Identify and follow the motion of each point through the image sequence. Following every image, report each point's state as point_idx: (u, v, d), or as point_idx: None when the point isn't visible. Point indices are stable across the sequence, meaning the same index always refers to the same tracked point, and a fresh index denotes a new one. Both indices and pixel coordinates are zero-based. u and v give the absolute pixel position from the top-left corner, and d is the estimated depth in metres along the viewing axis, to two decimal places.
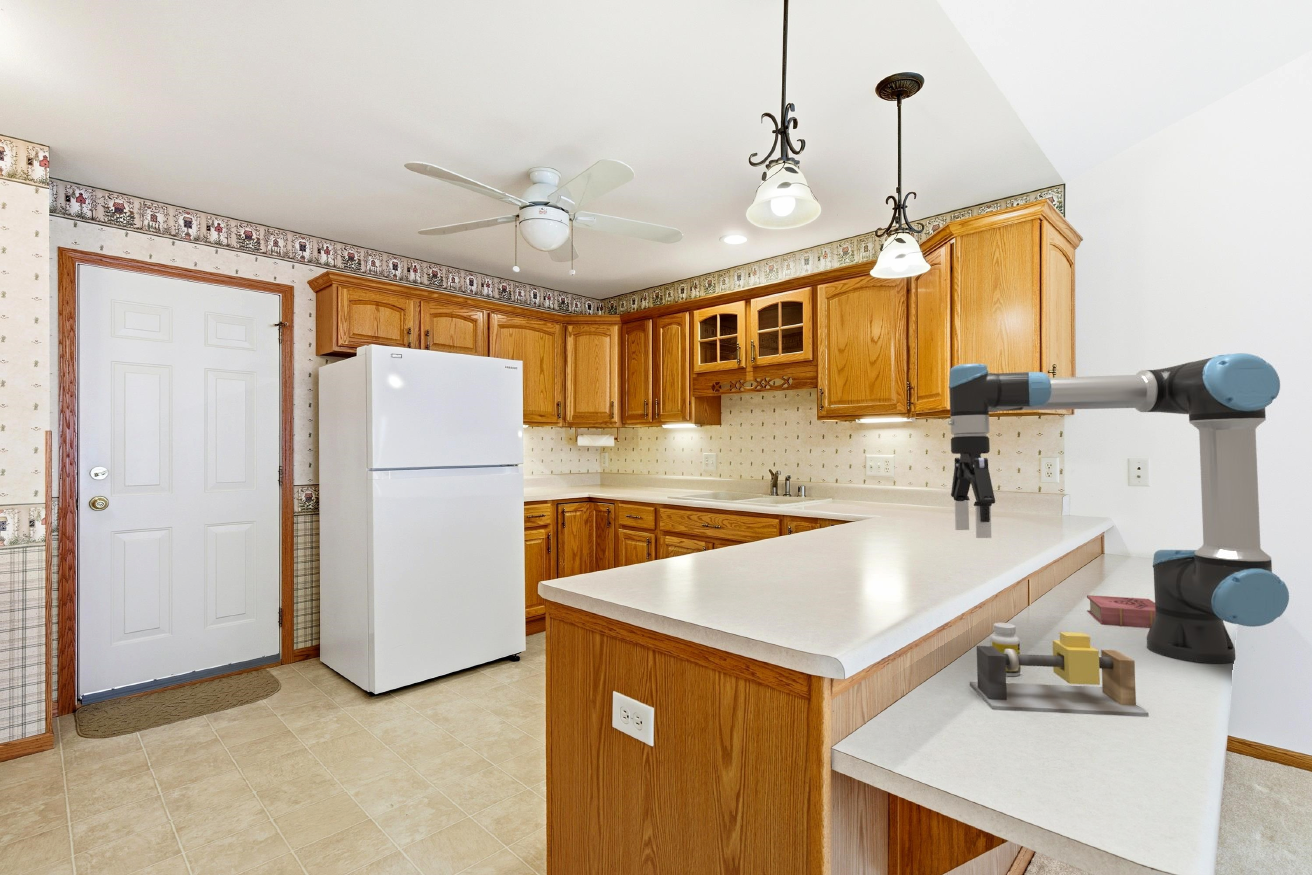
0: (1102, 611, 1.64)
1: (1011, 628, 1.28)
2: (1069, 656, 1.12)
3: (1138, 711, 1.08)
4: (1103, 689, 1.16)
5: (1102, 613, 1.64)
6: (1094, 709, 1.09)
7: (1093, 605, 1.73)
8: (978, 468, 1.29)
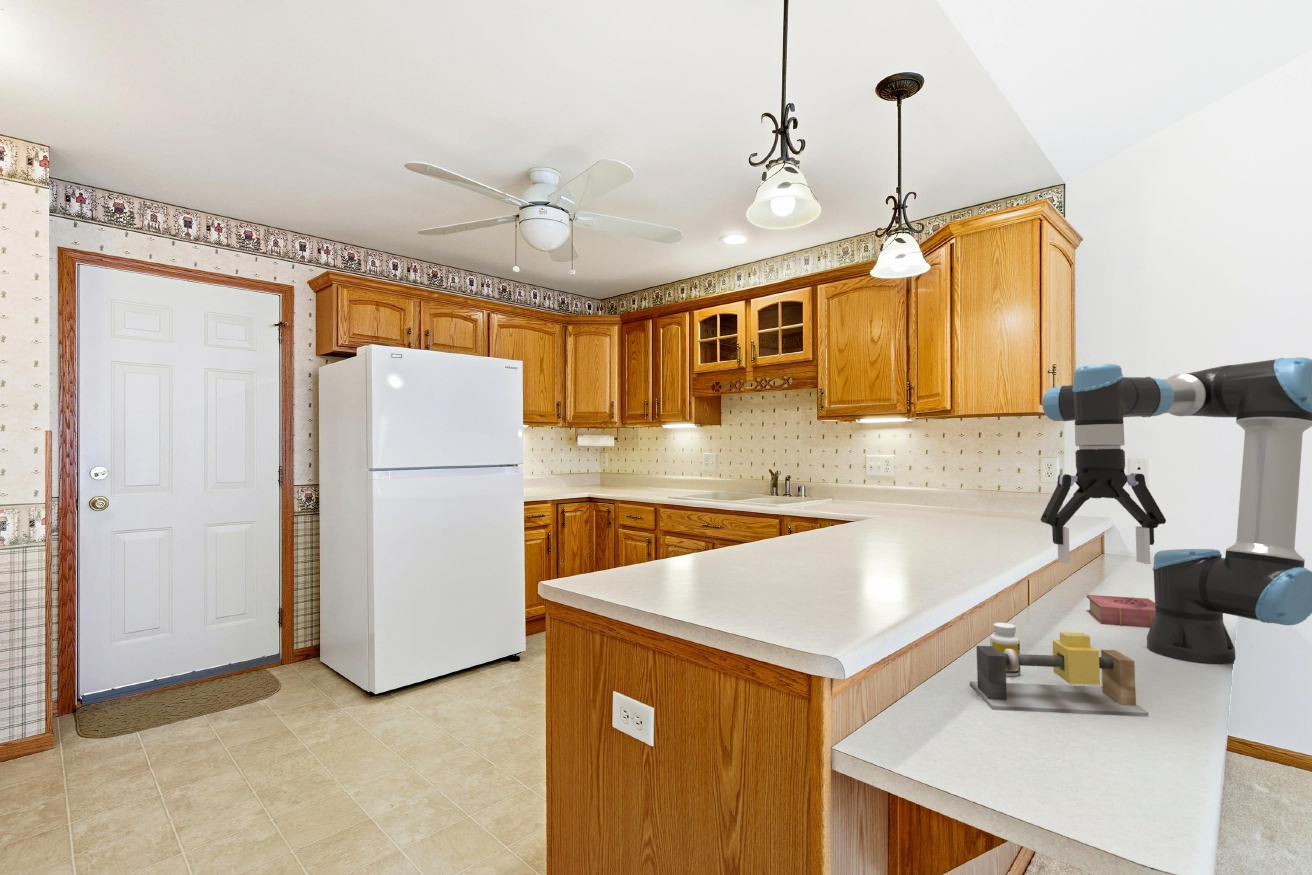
0: (1102, 610, 1.64)
1: (1011, 628, 1.28)
2: (1069, 656, 1.12)
3: (1138, 711, 1.08)
4: (1103, 689, 1.16)
5: (1102, 612, 1.64)
6: (1094, 709, 1.09)
7: (1093, 605, 1.74)
8: (1058, 485, 1.18)
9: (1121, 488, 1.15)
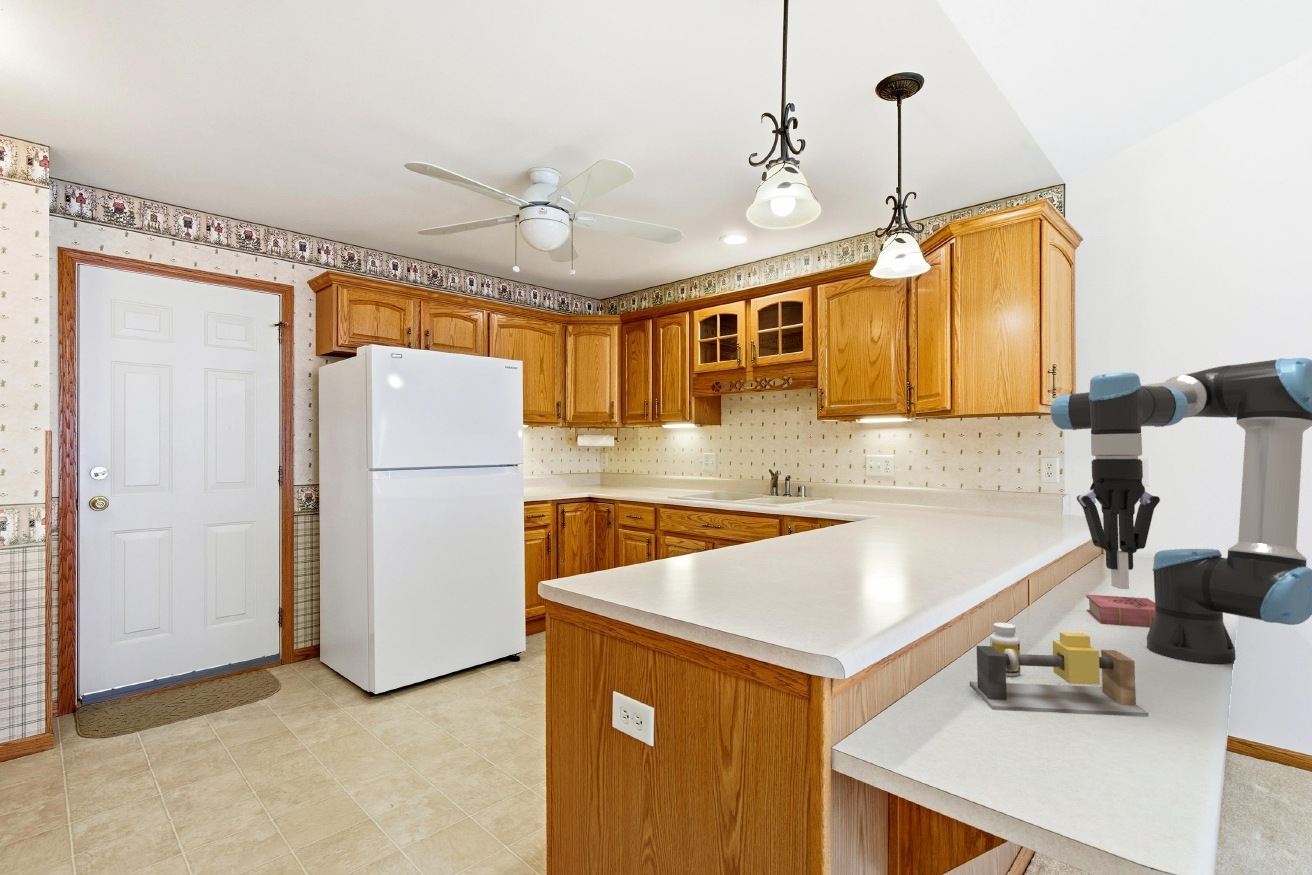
0: (1101, 610, 1.65)
1: (1011, 628, 1.28)
2: (1069, 656, 1.12)
3: (1138, 711, 1.08)
4: (1103, 689, 1.16)
5: (1101, 612, 1.65)
6: (1094, 709, 1.09)
7: (1092, 604, 1.74)
8: (1083, 507, 1.16)
9: (1132, 502, 1.13)
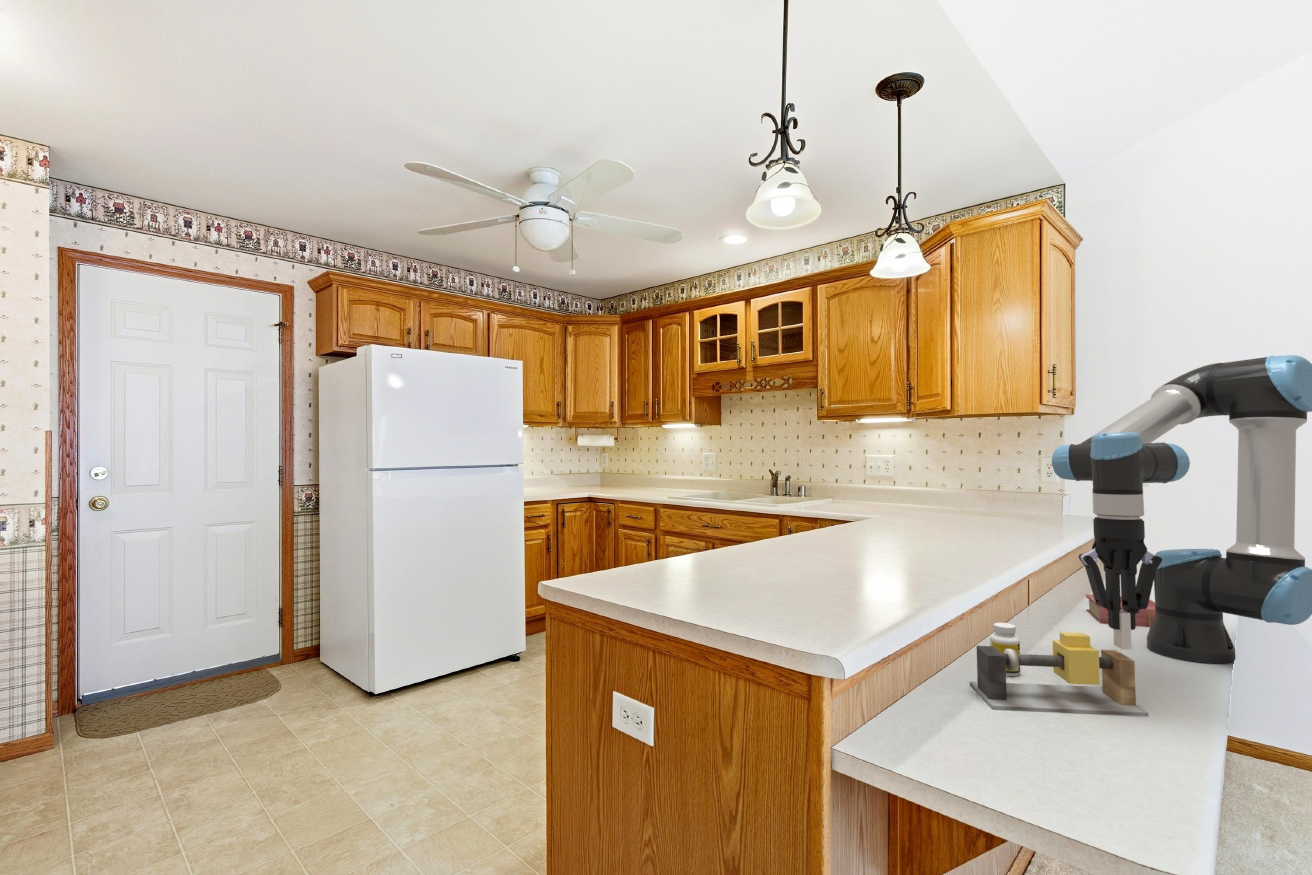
0: (1101, 610, 1.65)
1: (1011, 628, 1.28)
2: (1069, 656, 1.12)
3: (1138, 711, 1.08)
4: (1103, 689, 1.16)
5: (1101, 612, 1.65)
6: (1094, 709, 1.09)
7: (1092, 604, 1.74)
8: (1085, 566, 1.16)
9: (1134, 563, 1.12)
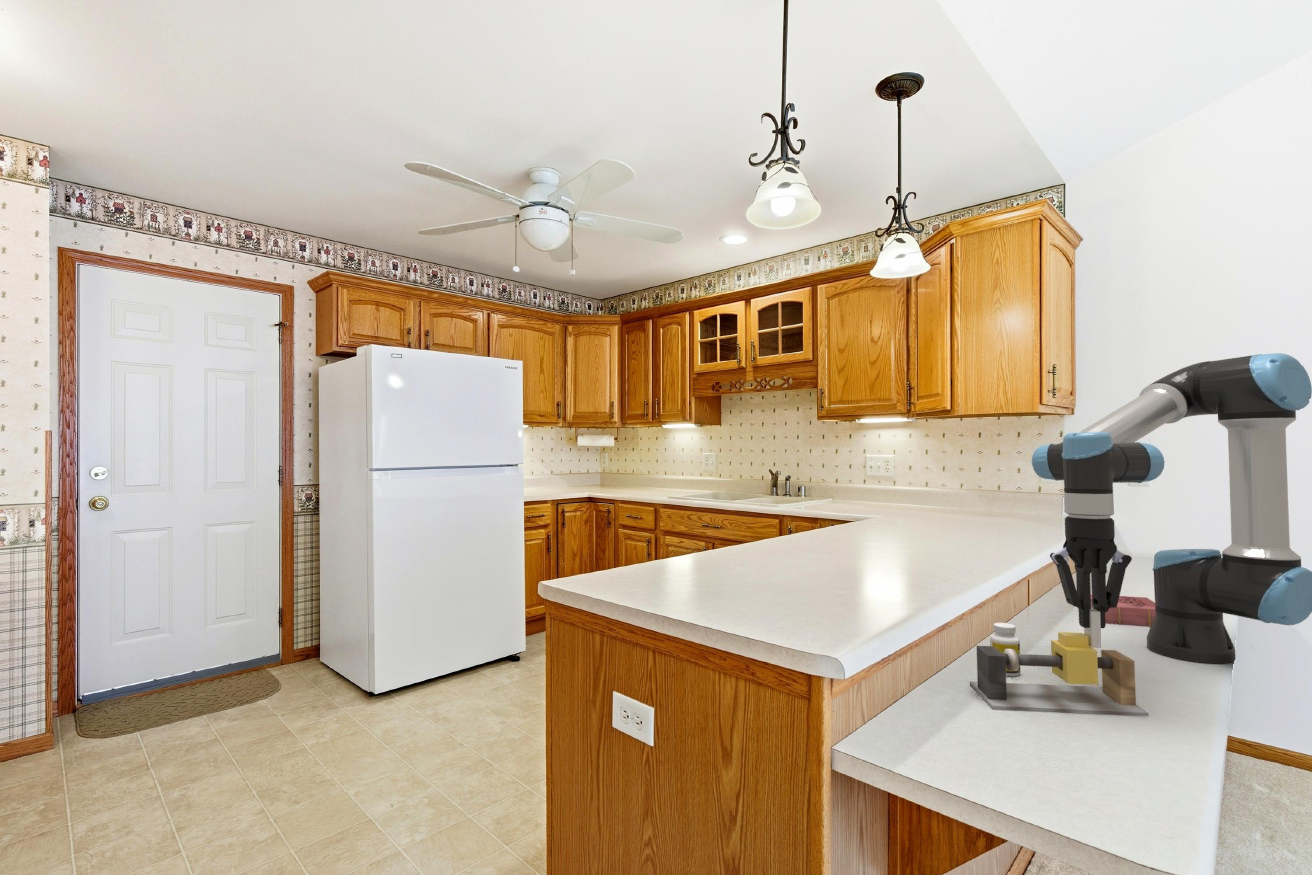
0: None
1: (1011, 628, 1.28)
2: (1067, 656, 1.12)
3: (1138, 711, 1.08)
4: (1103, 689, 1.16)
5: None
6: (1094, 709, 1.09)
7: None
8: (1057, 565, 1.16)
9: (1104, 561, 1.13)
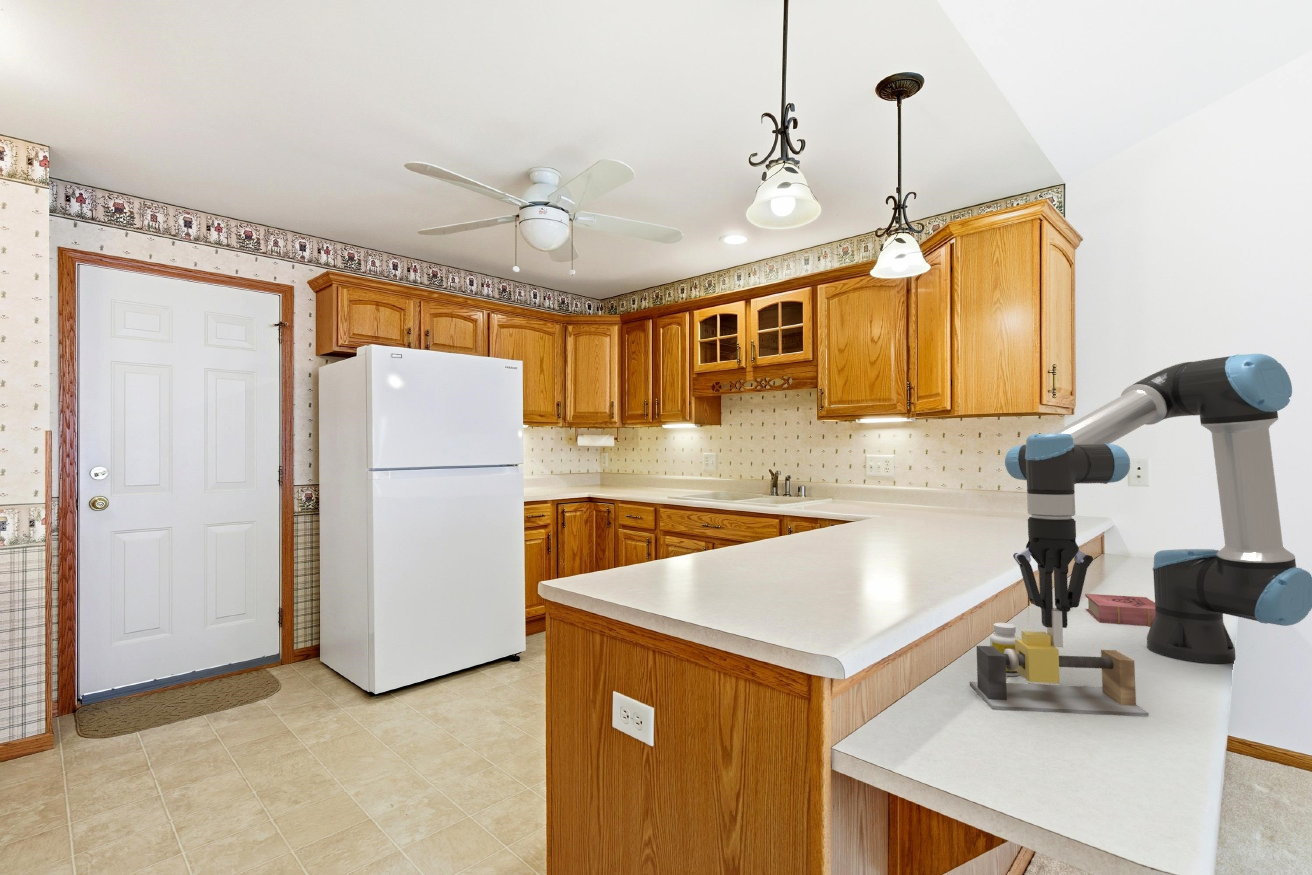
0: (1100, 609, 1.66)
1: (1011, 628, 1.28)
2: (1029, 655, 1.13)
3: (1138, 711, 1.08)
4: (1103, 689, 1.16)
5: (1100, 611, 1.66)
6: (1094, 709, 1.09)
7: (1091, 603, 1.75)
8: (1020, 565, 1.17)
9: (1066, 562, 1.14)
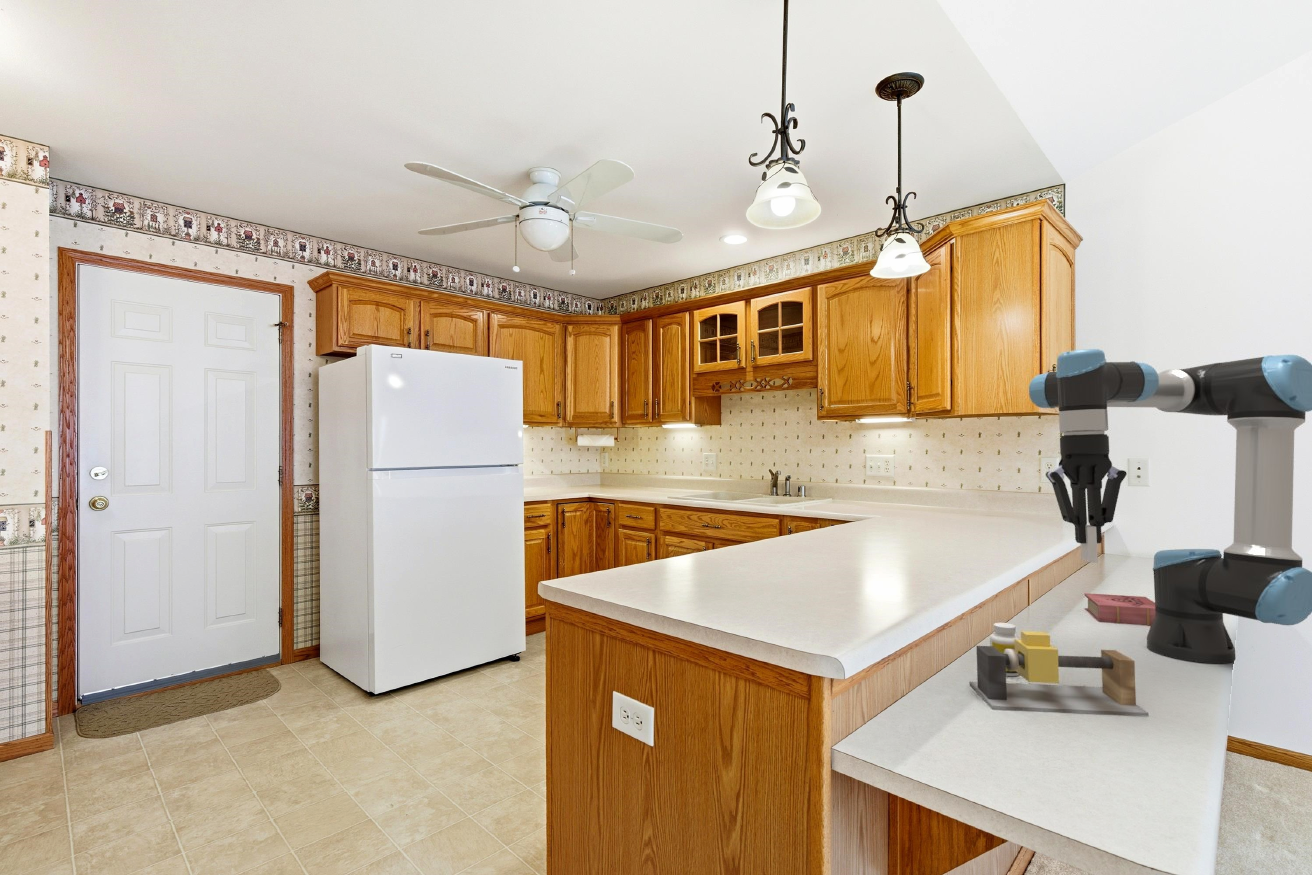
0: (1099, 609, 1.66)
1: (1011, 628, 1.28)
2: (1029, 655, 1.13)
3: (1138, 711, 1.08)
4: (1103, 689, 1.16)
5: (1099, 611, 1.66)
6: (1094, 709, 1.09)
7: (1091, 603, 1.76)
8: (1052, 483, 1.18)
9: (1100, 477, 1.14)
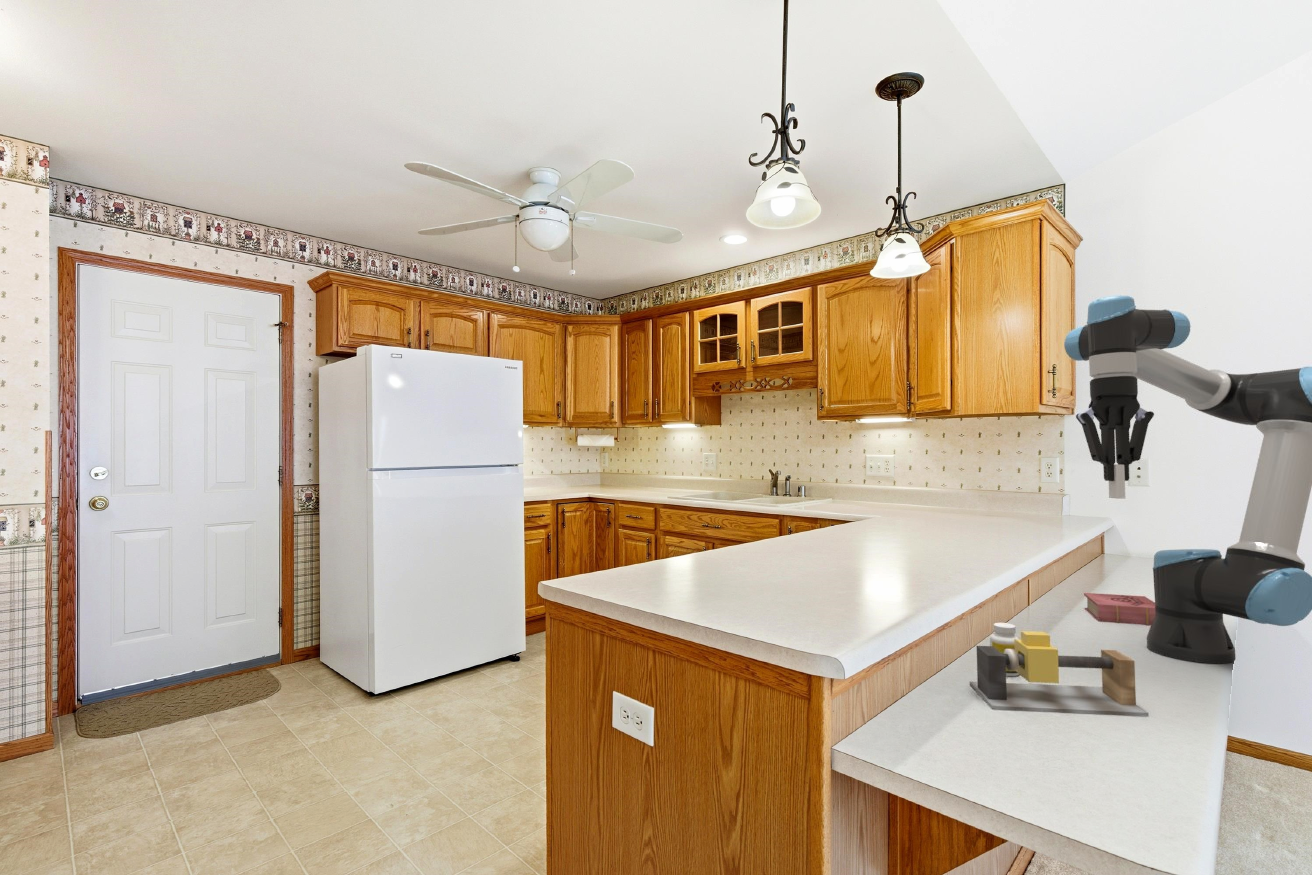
0: (1099, 608, 1.67)
1: (1011, 628, 1.28)
2: (1029, 655, 1.13)
3: (1138, 711, 1.08)
4: (1103, 689, 1.16)
5: (1099, 610, 1.67)
6: (1094, 709, 1.09)
7: (1090, 602, 1.76)
8: (1082, 425, 1.24)
9: (1128, 417, 1.20)
